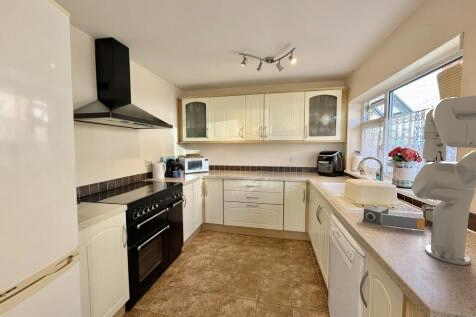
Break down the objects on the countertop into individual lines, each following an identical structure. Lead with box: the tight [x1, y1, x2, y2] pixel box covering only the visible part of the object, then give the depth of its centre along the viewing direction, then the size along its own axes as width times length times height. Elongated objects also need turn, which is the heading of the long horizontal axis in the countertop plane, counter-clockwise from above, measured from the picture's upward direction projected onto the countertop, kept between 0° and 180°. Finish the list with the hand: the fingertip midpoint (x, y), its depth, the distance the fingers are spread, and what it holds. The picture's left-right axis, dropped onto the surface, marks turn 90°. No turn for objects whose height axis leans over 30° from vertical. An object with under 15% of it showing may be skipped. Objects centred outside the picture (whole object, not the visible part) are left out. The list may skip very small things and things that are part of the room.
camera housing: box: [362, 204, 390, 226], centre depth 118 cm, size 14×8×8 cm, turn 126°
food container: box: [421, 204, 437, 227], centre depth 113 cm, size 12×6×10 cm, turn 84°
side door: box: [379, 213, 425, 231], centre depth 108 cm, size 18×1×6 cm, turn 69°
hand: (431, 175), depth 99 cm, fingers closed
